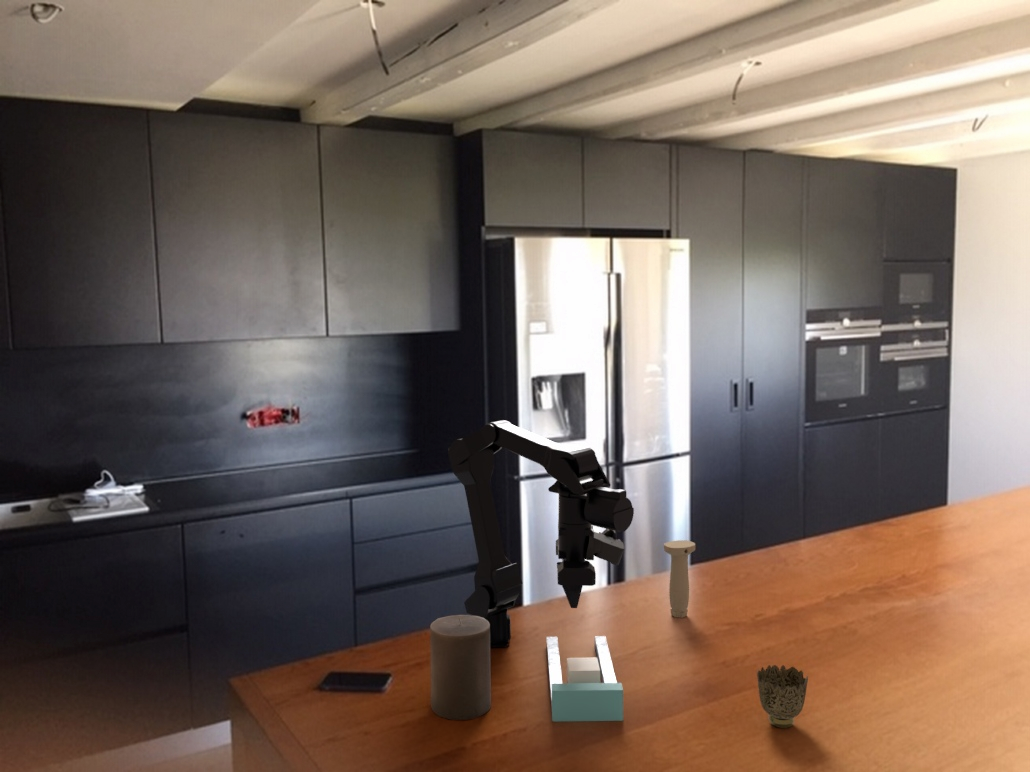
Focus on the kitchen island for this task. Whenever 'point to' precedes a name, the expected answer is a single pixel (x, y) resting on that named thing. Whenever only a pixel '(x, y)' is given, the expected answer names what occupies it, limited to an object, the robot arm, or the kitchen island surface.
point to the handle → (679, 575)
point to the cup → (782, 694)
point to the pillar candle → (460, 667)
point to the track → (585, 689)
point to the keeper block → (583, 670)
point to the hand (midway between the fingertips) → (573, 607)
